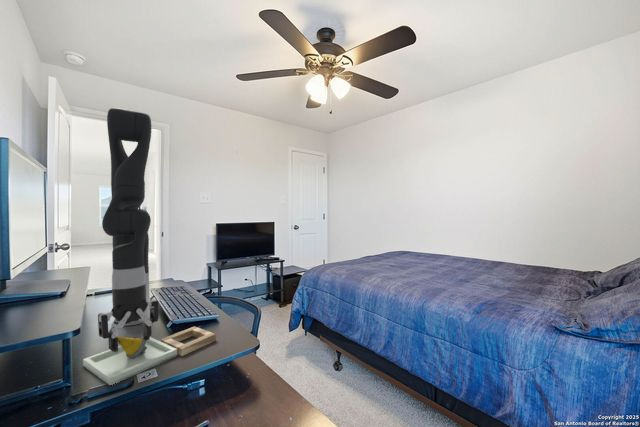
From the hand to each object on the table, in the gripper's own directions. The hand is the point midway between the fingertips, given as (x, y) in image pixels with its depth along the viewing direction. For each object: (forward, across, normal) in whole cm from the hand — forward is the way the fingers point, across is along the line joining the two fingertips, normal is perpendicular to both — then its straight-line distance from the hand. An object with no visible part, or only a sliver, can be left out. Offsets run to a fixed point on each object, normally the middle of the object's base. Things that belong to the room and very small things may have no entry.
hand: (131, 344), depth 77 cm
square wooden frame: (+4, -14, +4) cm, 15 cm away
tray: (+4, 0, 0) cm, 4 cm away
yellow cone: (+4, 0, 0) cm, 4 cm away
